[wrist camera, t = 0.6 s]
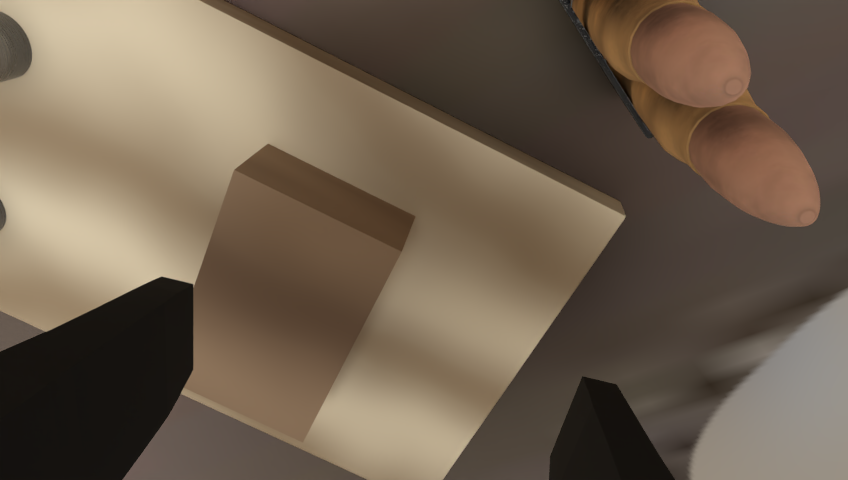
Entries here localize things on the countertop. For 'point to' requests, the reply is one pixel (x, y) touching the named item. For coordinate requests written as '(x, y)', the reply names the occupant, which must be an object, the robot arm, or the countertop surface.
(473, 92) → the countertop surface
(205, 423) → the countertop surface
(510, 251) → the bench board
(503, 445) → the countertop surface
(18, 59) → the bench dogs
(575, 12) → the ammunition clip
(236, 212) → the tan cardboard box
